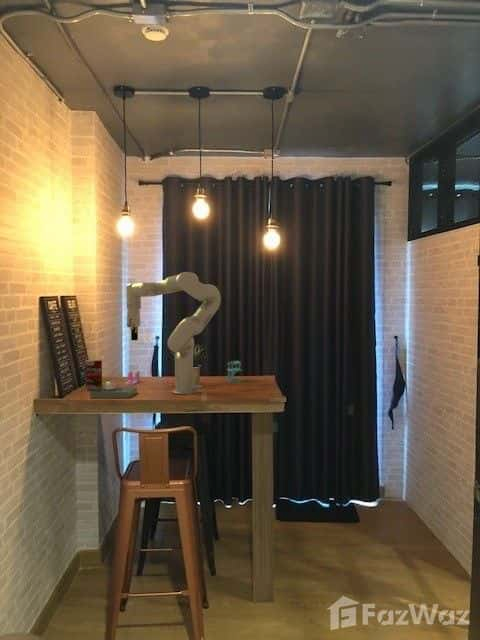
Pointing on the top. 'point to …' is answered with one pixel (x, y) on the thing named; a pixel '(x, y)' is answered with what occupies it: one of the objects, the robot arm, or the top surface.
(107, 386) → the bushing
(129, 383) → the pink notched block
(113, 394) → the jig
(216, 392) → the top surface
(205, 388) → the top surface
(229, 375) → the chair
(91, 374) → the supplement box
